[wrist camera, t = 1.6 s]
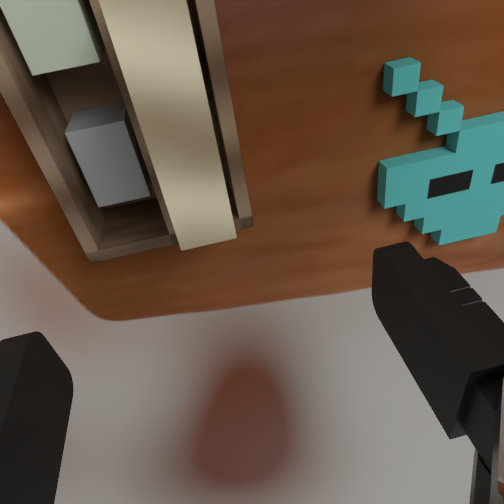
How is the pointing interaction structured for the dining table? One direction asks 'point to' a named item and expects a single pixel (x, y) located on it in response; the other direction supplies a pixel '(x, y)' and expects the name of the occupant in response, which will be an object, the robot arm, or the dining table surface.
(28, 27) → the sage offcut
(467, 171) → the alien figure
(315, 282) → the dining table surface
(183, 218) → the birch panel
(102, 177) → the grey offcut
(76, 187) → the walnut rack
